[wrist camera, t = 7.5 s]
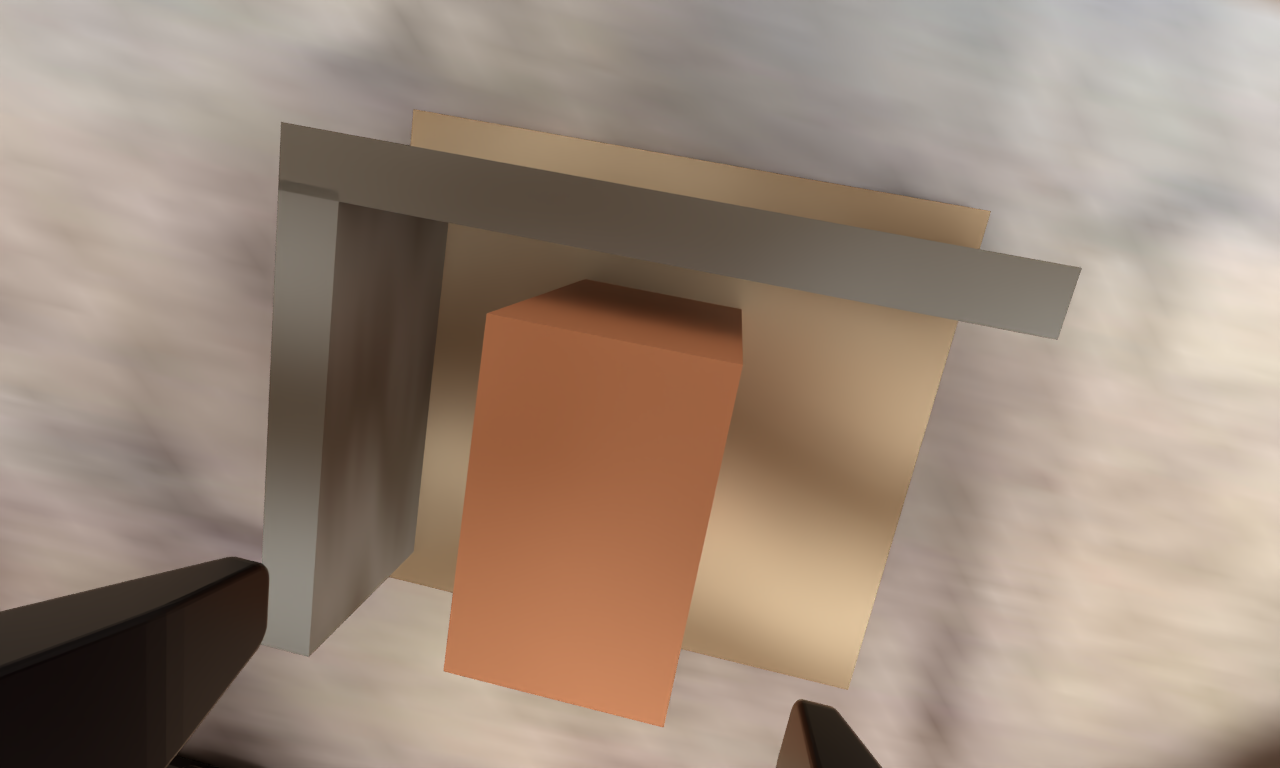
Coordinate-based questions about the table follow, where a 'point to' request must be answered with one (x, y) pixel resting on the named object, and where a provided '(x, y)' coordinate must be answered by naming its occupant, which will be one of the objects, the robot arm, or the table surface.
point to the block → (591, 492)
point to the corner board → (631, 257)
